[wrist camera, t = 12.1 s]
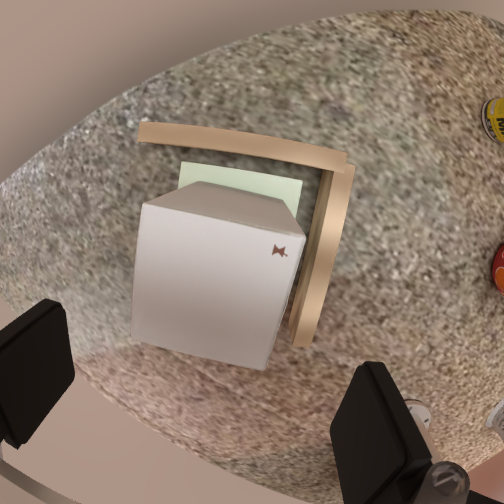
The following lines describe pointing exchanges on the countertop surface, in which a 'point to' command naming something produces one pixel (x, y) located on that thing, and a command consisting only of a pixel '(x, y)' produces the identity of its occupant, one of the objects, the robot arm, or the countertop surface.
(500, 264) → the smoothie
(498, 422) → the french press
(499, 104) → the supplement bottle
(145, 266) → the supplement box
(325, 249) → the wooden corner guide
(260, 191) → the pad
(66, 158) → the countertop surface
